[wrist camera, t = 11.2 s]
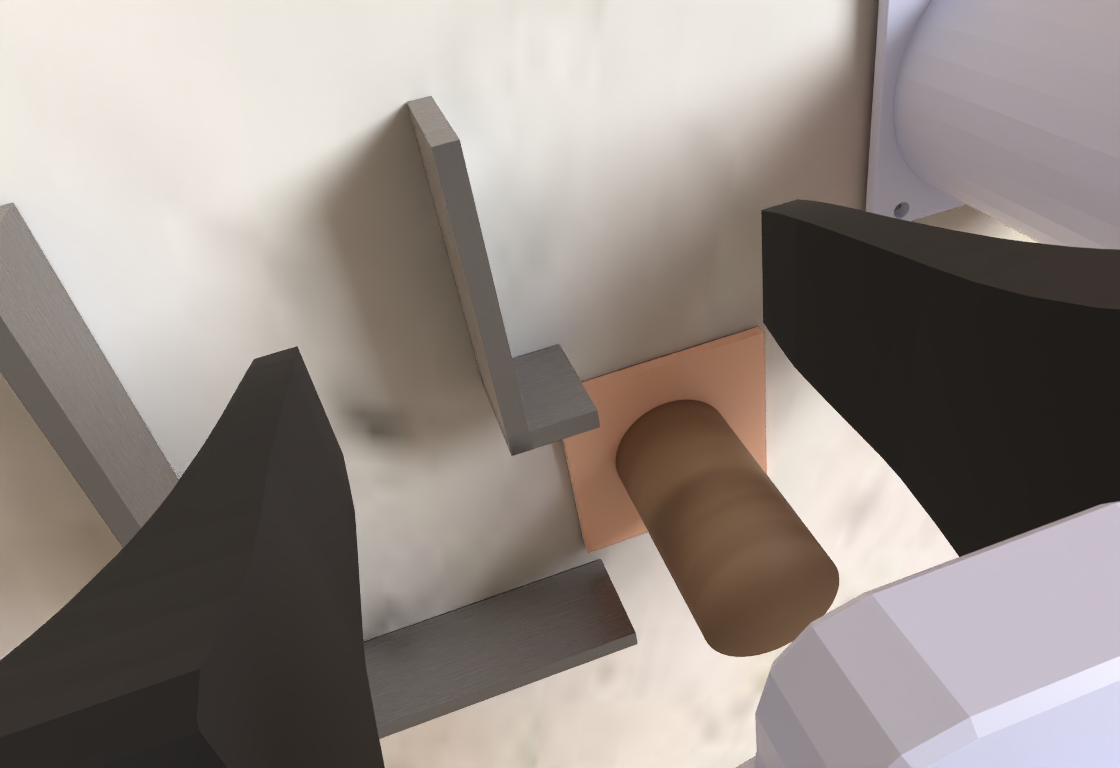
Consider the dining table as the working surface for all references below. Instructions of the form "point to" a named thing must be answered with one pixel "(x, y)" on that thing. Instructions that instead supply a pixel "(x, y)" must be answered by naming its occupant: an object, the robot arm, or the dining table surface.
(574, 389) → the rail channel
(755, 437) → the coaster
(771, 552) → the walnut peg
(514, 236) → the dining table surface
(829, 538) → the dining table surface
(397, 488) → the dining table surface
